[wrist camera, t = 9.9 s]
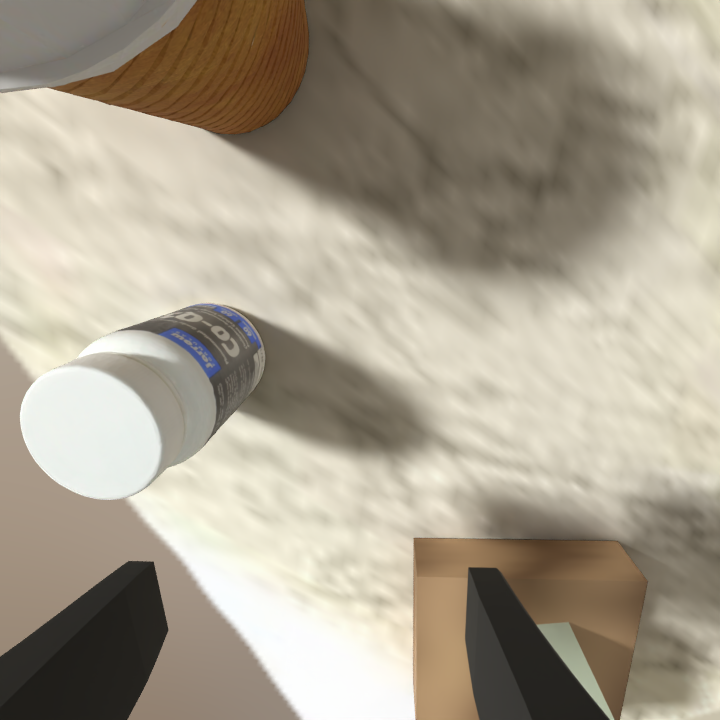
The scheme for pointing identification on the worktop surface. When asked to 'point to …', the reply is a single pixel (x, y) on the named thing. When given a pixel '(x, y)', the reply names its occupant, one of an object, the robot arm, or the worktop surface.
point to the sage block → (574, 659)
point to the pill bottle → (141, 399)
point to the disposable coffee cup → (161, 56)
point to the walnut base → (540, 599)
